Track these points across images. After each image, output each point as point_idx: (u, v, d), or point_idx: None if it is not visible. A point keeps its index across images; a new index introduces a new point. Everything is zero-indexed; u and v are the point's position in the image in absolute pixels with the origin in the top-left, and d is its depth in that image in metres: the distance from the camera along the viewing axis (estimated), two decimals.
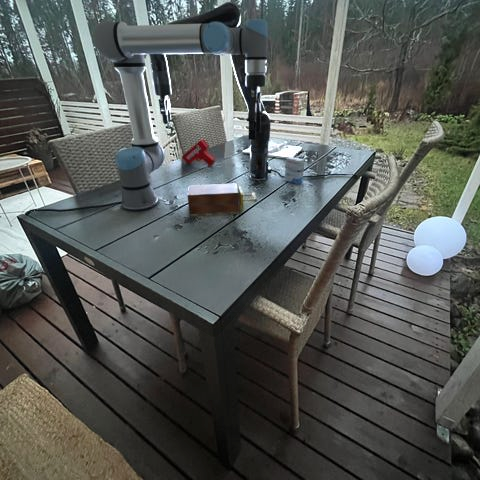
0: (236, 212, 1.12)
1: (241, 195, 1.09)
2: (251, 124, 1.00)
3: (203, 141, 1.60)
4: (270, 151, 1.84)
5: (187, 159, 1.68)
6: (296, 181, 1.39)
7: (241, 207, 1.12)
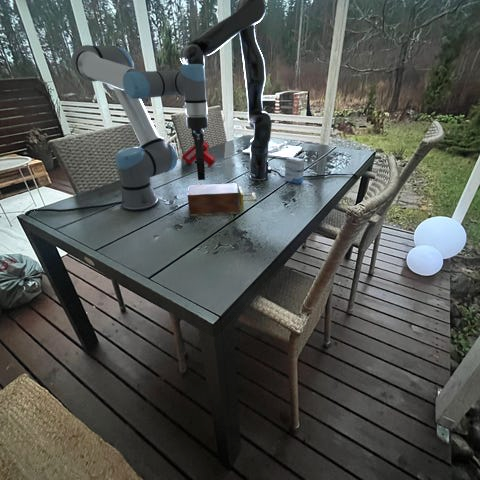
0: (236, 212, 1.12)
1: (241, 195, 1.09)
2: None
3: None
4: (270, 151, 1.84)
5: (187, 159, 1.68)
6: (296, 181, 1.39)
7: (241, 207, 1.12)
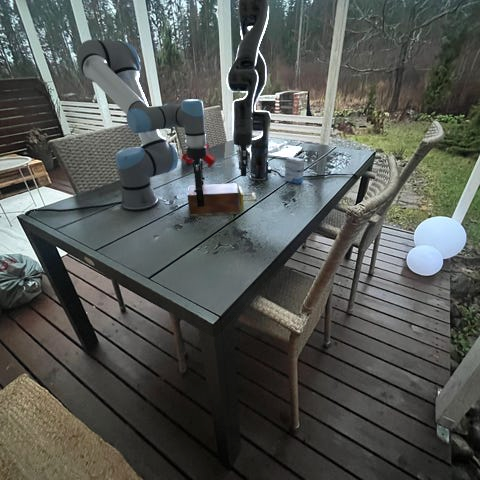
0: (236, 212, 1.12)
1: (241, 195, 1.09)
2: None
3: None
4: (270, 151, 1.84)
5: (187, 159, 1.68)
6: (296, 181, 1.39)
7: (241, 207, 1.12)
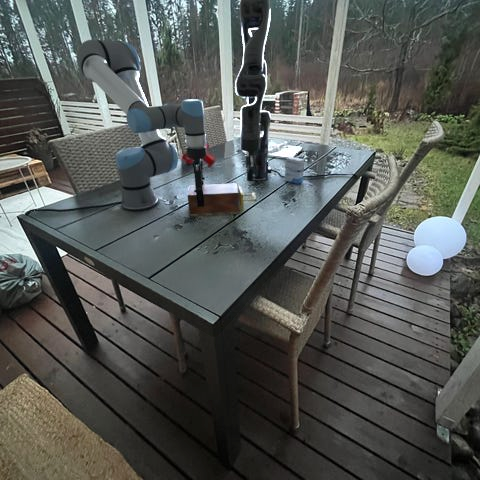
0: (236, 212, 1.12)
1: (241, 195, 1.09)
2: None
3: None
4: (270, 151, 1.84)
5: (187, 159, 1.68)
6: (296, 181, 1.39)
7: (241, 207, 1.12)
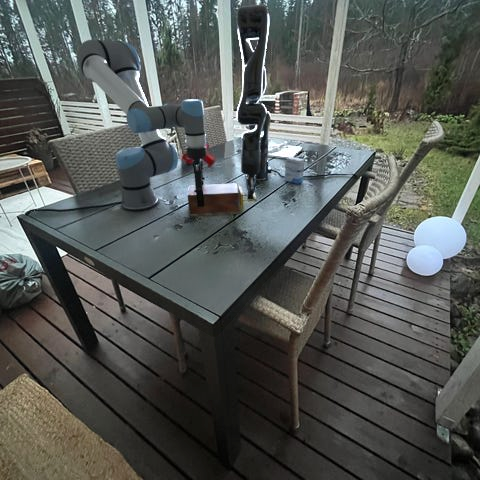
0: (236, 212, 1.12)
1: (241, 195, 1.09)
2: None
3: None
4: (270, 151, 1.84)
5: (187, 159, 1.68)
6: (296, 181, 1.39)
7: (241, 207, 1.12)
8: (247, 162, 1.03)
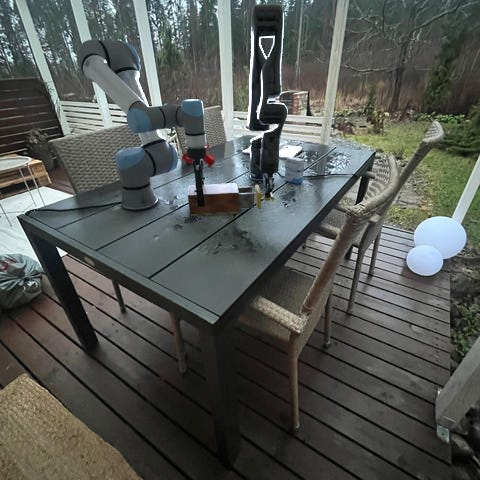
0: (237, 212, 1.12)
1: (259, 194, 1.09)
2: None
3: None
4: None
5: (187, 159, 1.68)
6: (296, 181, 1.39)
7: (259, 206, 1.12)
8: (267, 161, 1.04)
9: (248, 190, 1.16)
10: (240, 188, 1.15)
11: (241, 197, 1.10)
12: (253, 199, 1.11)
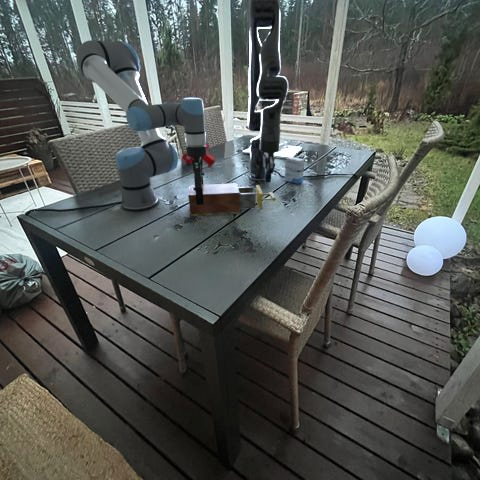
0: (237, 212, 1.12)
1: (260, 194, 1.09)
2: None
3: None
4: None
5: (187, 159, 1.68)
6: (296, 181, 1.39)
7: (260, 206, 1.12)
8: (267, 139, 0.99)
9: (250, 190, 1.16)
10: (241, 188, 1.15)
11: (242, 197, 1.10)
12: (254, 199, 1.11)
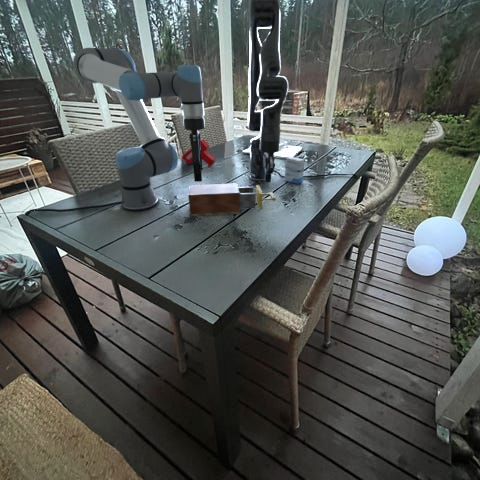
0: (237, 212, 1.12)
1: (260, 194, 1.09)
2: None
3: (203, 141, 1.60)
4: None
5: (187, 159, 1.68)
6: (296, 181, 1.39)
7: (260, 206, 1.12)
8: (267, 139, 0.99)
9: (250, 190, 1.16)
10: (241, 188, 1.15)
11: (243, 197, 1.10)
12: (254, 199, 1.11)
